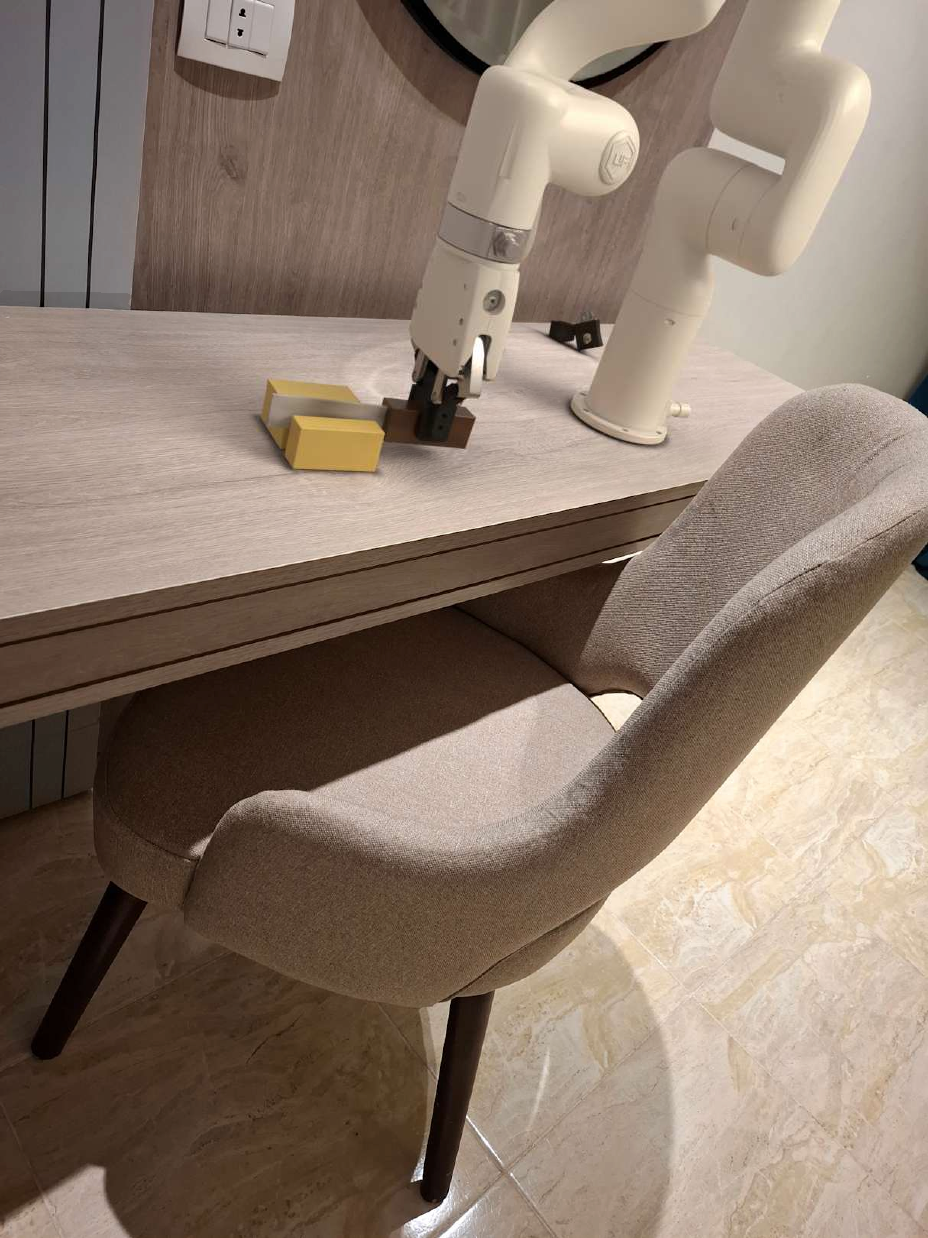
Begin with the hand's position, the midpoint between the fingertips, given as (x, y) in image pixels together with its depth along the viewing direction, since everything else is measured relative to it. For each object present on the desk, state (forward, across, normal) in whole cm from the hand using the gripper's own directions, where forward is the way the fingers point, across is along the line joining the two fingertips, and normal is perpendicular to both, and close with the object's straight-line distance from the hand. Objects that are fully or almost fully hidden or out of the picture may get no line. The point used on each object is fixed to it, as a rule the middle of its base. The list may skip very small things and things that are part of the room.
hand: (424, 430), depth 86 cm
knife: (+1, 0, +6) cm, 6 cm away
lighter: (+2, +37, -44) cm, 57 cm away
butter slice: (+3, -2, +10) cm, 10 cm away
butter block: (+3, +4, +10) cm, 11 cm away
